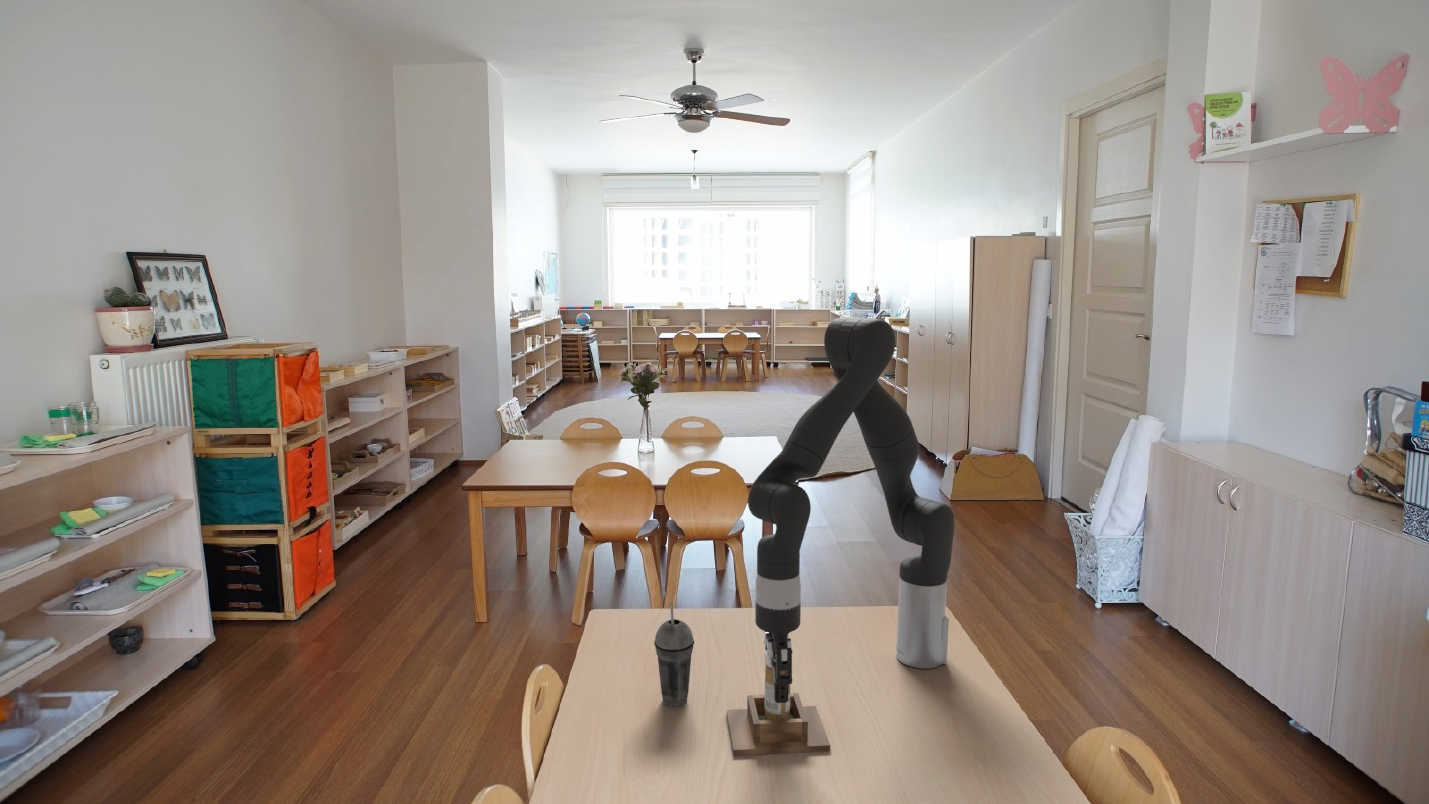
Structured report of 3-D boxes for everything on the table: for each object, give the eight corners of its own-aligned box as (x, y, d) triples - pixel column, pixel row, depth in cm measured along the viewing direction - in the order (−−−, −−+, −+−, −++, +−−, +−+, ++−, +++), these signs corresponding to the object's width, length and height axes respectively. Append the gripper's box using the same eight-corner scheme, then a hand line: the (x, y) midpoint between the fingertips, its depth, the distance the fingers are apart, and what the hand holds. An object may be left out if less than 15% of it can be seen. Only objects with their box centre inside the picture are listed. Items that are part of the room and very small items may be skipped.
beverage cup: (700, 694, 150) (699, 592, 146) (686, 714, 143) (685, 608, 140) (664, 687, 152) (662, 587, 149) (648, 707, 145) (646, 603, 142)
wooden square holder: (815, 711, 144) (815, 687, 143) (830, 750, 132) (830, 725, 131) (726, 715, 143) (726, 691, 142) (733, 755, 131) (733, 730, 130)
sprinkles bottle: (795, 727, 137) (797, 653, 134) (774, 736, 134) (775, 661, 132) (779, 715, 140) (780, 643, 138) (758, 723, 138) (759, 650, 136)
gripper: (808, 615, 127) (807, 710, 129) (792, 580, 141) (791, 666, 143) (761, 617, 126) (761, 712, 129) (750, 582, 140) (750, 668, 143)
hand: (777, 688), depth 136 cm, fingers open, 8 cm apart
